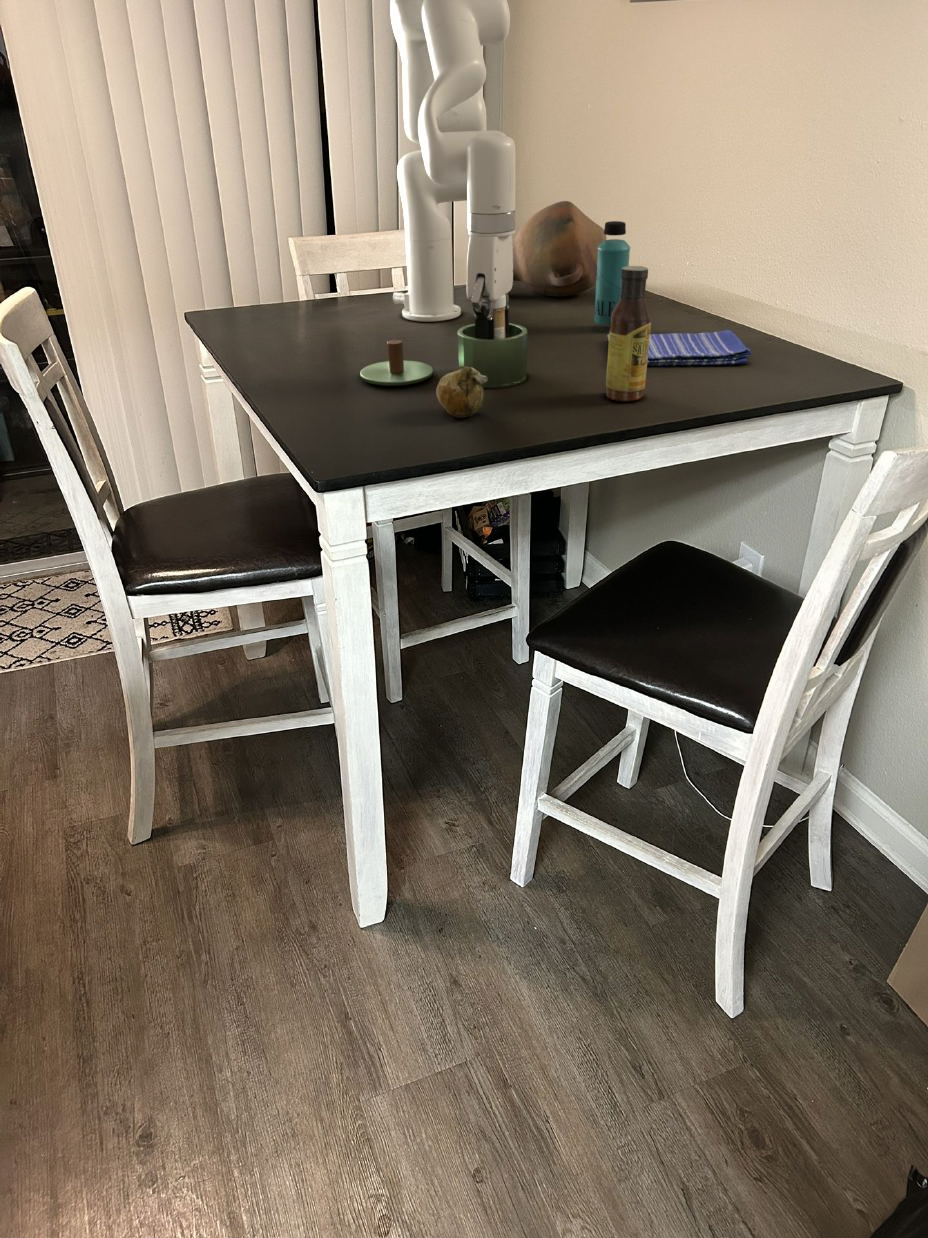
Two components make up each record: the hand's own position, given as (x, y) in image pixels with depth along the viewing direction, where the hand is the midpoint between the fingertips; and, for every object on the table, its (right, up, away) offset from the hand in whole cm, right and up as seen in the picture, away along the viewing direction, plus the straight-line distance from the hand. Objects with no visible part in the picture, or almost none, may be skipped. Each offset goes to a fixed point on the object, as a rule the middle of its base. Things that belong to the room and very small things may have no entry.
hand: (492, 336), depth 155 cm
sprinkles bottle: (0, -6, +4) cm, 7 cm away
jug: (+12, +26, +55) cm, 63 cm away
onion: (-5, -16, -12) cm, 20 cm away
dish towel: (+34, +1, +14) cm, 37 cm away
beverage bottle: (+24, +10, +29) cm, 39 cm away
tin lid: (-17, -5, +5) cm, 18 cm away
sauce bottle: (+21, -12, -7) cm, 25 cm away
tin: (0, -6, +4) cm, 7 cm away
